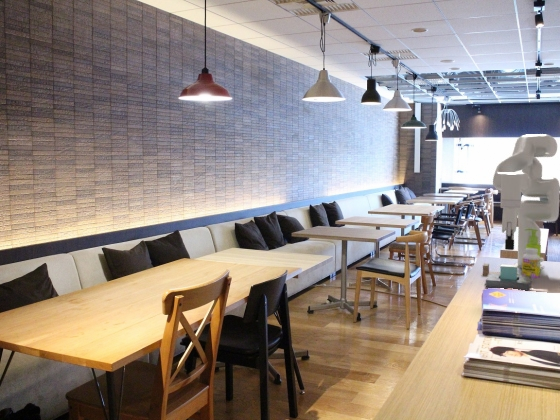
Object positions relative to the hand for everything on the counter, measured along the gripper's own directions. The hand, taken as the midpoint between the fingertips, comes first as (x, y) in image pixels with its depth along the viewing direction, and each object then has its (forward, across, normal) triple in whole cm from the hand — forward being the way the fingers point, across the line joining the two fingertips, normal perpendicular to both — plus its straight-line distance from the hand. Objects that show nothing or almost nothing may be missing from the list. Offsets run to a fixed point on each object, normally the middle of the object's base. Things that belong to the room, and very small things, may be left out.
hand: (509, 249), depth 219 cm
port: (+15, 0, 0) cm, 15 cm away
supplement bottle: (+15, -17, +8) cm, 24 cm away
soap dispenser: (+15, -27, +8) cm, 32 cm away
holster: (+15, -15, -6) cm, 22 cm away
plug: (+15, 0, 0) cm, 15 cm away
